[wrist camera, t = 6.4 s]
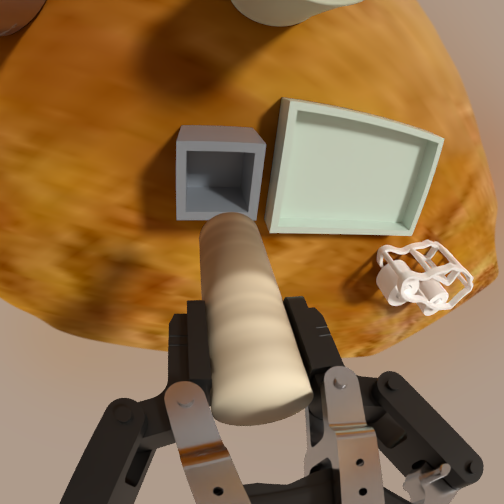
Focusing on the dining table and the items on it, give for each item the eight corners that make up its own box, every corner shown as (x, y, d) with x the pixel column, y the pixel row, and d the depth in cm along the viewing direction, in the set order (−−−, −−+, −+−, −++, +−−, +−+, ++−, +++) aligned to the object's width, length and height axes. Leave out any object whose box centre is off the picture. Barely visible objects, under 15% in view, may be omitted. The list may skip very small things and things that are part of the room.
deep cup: (181, 125, 26) (176, 141, 21) (252, 127, 27) (266, 144, 22) (180, 189, 30) (176, 220, 25) (245, 190, 31) (256, 220, 26)
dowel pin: (199, 212, 15) (211, 390, 7) (262, 212, 16) (326, 377, 8) (199, 262, 17) (212, 428, 9) (255, 262, 18) (299, 418, 10)
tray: (281, 97, 26) (290, 100, 23) (429, 131, 29) (444, 138, 27) (264, 219, 34) (269, 233, 31) (400, 224, 37) (411, 235, 35)
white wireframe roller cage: (358, 274, 42) (379, 308, 36) (401, 216, 37) (431, 246, 31) (422, 298, 50) (440, 324, 44) (456, 255, 45) (479, 280, 39)
